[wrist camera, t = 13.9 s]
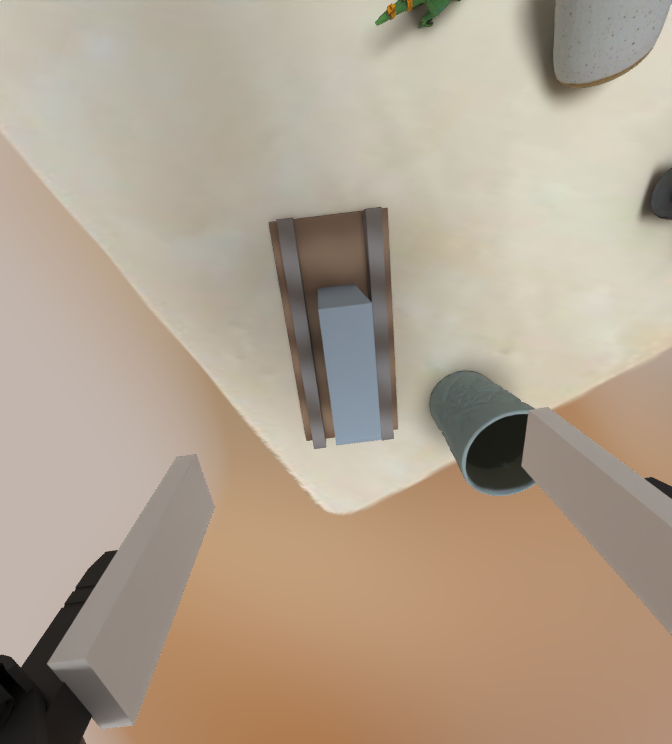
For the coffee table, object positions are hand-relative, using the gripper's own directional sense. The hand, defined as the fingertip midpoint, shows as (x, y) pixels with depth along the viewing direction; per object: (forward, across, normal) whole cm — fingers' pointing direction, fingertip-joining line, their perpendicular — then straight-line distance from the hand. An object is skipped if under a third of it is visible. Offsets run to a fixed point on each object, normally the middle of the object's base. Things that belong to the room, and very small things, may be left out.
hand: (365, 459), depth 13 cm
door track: (+27, +1, -3) cm, 27 cm away
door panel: (+25, +1, -3) cm, 25 cm away
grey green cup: (+27, +16, -14) cm, 34 cm away
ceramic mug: (+28, +26, +23) cm, 44 cm away
